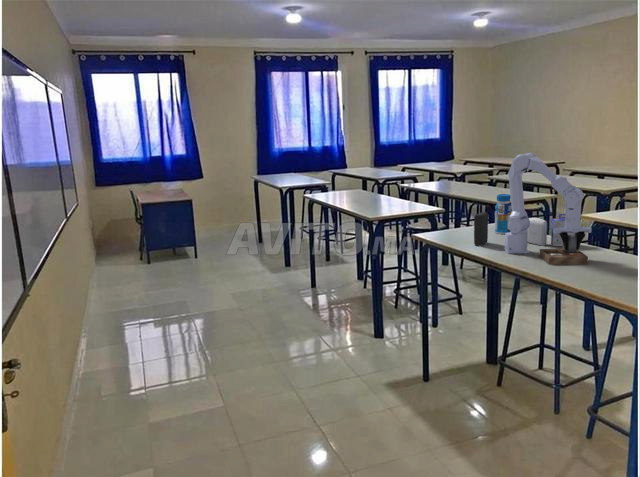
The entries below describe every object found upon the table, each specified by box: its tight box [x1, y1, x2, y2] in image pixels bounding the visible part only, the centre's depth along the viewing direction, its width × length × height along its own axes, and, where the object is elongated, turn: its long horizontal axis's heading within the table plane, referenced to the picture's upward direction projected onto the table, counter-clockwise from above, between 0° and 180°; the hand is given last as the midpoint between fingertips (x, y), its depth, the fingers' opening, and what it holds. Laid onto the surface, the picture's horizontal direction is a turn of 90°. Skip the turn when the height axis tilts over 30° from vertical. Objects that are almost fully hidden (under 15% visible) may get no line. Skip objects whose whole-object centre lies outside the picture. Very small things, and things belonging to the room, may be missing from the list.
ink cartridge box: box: [550, 213, 575, 247], centre depth 242 cm, size 10×6×14 cm, turn 78°
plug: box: [566, 234, 577, 254], centre depth 221 cm, size 4×4×9 cm
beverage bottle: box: [494, 193, 512, 235], centre depth 273 cm, size 8×8×20 cm
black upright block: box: [473, 211, 489, 246], centre depth 253 cm, size 9×4×15 cm, turn 141°
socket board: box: [539, 247, 589, 265], centre depth 221 cm, size 15×14×3 cm
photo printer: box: [527, 217, 548, 247], centre depth 248 cm, size 10×4×12 cm, turn 31°
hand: (571, 249), depth 221 cm, fingers closed on plug, 4 cm apart
